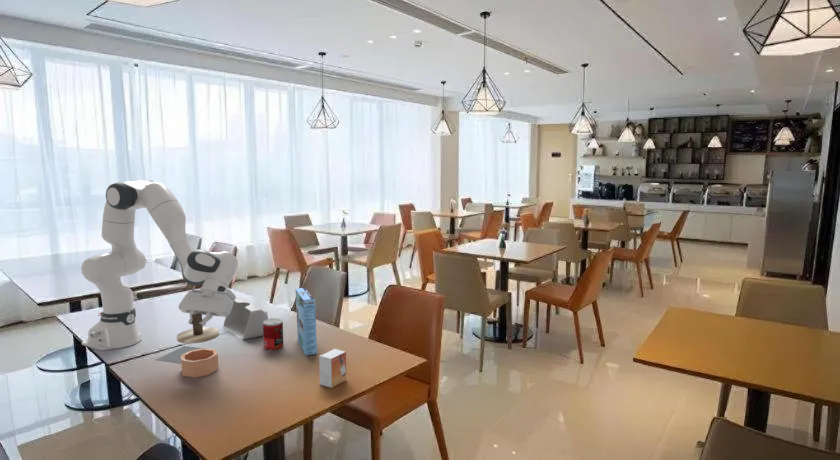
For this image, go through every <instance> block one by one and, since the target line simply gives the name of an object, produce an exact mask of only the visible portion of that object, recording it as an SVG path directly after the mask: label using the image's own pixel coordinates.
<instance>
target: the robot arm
mask: <svg viewBox="0 0 840 460" xmlns="http://www.w3.org/2000/svg"><path fill="white" fill-rule="evenodd" d="M103 208H104V209H103V214H102V224H101V237H102V239H103V240H104V241H105V242H106V243H108V244H110V245H111V252H104V253H99V254H96V255H94V256H90V257H88V258H86V259H85V260H83V262H82V263H81V268H80V270H81V271H80V272H81V274H82V276H83V278H84V279H85V280H87V282H90V283H92V284H93V285H95V287H96V288H97V289H98V291H99V293H100V296H101V297H100V298H101V304H102V312H98V313H97V315H98V317H99V316H100V319H99V321H97V323H95V324H94V325H93V326H92V327H90V328H89V330H88V334H87V335H88V336H87V337H88V338H86V339H84V340H83V341H82V342H81V345H82V346H85V347H88V348H91V349H95V350H98V351H101V352H102V351H109V350H114V349H120V348H125V347H127V348H128V347H129V346H133V345H135V344H137V343H139V342H140V341H141V340H142V338H141V332H140V331H139V325H138V320H137V318H136V317H137V314H136V313H137V311H136V307H135V304H134V292H133V290H132V289H131V288H130V287H129V286H126V285H123V282H122V279H121V278H122V277H127V276H131V275H135V274H136V273H138V272H140V271H142V270H143V269H144V268H145V266H146V264H147V259H146V256H145V254H144V253H143V252H142V251H141V250H140V249H139V248H138V247H137V245H136V243H135V236H134V235H135V219H136V211H137V210H141V209H145V208H146V210H147V212H148V213H149V215H150V217H151V218H152V221H154V223H155V224H156V226H157V227H158V228H159V230H160V231H161V233H162V235H163V236H164V238H165V239H166V240H167V242H168V244H169V246H170V248H171V250H172V252H173V253H174V255H175V257H176V259H177V261H178V263H179V265H180V267H181V275H182V279H183V281H184V282H185V283H186V284H188V285H190V286H194V287H200V286H201V287H200V288H199V289H195V288H194V289H192V290H189V291H187V293H186V294H185V295H184V297H183V298H182V300H181V301H180V303H179V304H178V309H179V311H180V312H181V313H184V314H189V320H188V322H187V323H188V324H189V325H192V326H193V321H192V315H194V314H202V316H203V315H204V316H205V317H203V318H202V319H201V320H200V322H199V324H200V325H202V326H203V327H205V326H206V325H207V323H208V322H209V321H210V320H212V319H213V317H222V318H226V316H228V315H229V314H230V312H231V310H232V307H233V304H234V302H233V301H234V300H235V299H237V296H236V294H235V293H234V292H233V291H232V290H231V289H230V287H229V286H230V285H229V284H230V283H231V282H232V281H233V279H234V277H235V275H236V273H237V270H238V266H239V261H238V258H237V257H236V256H235V255H234V254H232V252H230V251H224V250H223V251H221V252H214V251H208V250H206V249H195V250H193V248H192V246H191V245H190V243H189V241H188V238H187V233H186V222H187V219H186V213H185V211H184V209H183V207H182V205H181V203H180V202H179V200H178V199H177V197H176V196H175V195H174V193H173V192H172V191H171V190H170V189H169V188H168V187H167V185H165V184H164V183H163V182H157V181H154V180H132V181H124V182H123V181H118V182H114V183H111V184H110V185H109V186H108V187H107V189H106V191H105V204H104V207H103Z"/></svg>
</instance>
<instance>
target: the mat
mask: <svg viewBox="0 0 840 460" xmlns="http://www.w3.org/2000/svg"><path fill="white" fill-rule="evenodd" d="M203 348H204V347H203ZM203 348H202V347H195V346H189V345H188V346H186V345H183V346H181V347H179V348H176V349H175V350H173V351H170V352H168V353H166V354H165V355H162V356H160V357H158V358H156V359H155V361H159V362H167V363H173V364H180V365H181V355H183V354H185V353H187V352H189V351H191V350H197V349H203Z"/></svg>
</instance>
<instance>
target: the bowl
mask: <svg viewBox="0 0 840 460" xmlns="http://www.w3.org/2000/svg"><path fill="white" fill-rule="evenodd" d="M180 368H181V369H180V370H181V375H182V377H189V378H197V377H199V378H200V377H203V376H210V375H211V374H213V373H214V372H215V371H217V370H219V354H218V351H217V349H215V348H214V349H212V348H206V347H205V348H204V347H203V349H197V350H191V351H189V352H187V353H185V354H183V355H181V364H180Z"/></svg>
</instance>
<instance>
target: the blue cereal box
mask: <svg viewBox="0 0 840 460" xmlns="http://www.w3.org/2000/svg"><path fill="white" fill-rule="evenodd" d="M295 302H296V303H295V305H296V325H297V326H296V328H297V331H296V332H297V342H298V343H299V345H300V348H301V350H302V352H303V354H304V355H305V356H306V357H307V356H312V355H313V356H314V355H317V354H318V342H317V317H316V312H317V311H316V298H315V297H314V296H313V294H311V292H310V291H309V290H308V288H307V287H299V288H298V287H297V288H295Z"/></svg>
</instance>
